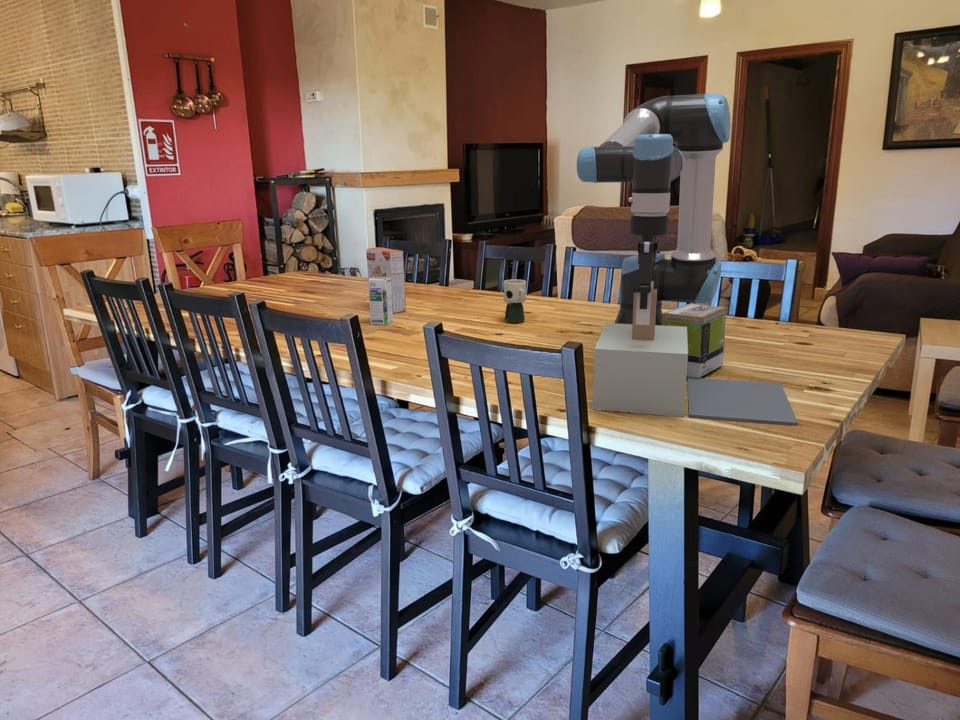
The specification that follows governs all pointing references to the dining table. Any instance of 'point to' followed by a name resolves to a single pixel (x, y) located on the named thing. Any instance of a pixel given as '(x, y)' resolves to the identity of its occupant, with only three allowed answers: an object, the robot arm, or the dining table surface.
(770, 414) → the mat
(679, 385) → the cover
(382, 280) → the syrup box
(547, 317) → the dining table surface
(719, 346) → the tea box
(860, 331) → the dining table surface
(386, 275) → the cracker box
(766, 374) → the dining table surface
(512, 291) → the character mug
